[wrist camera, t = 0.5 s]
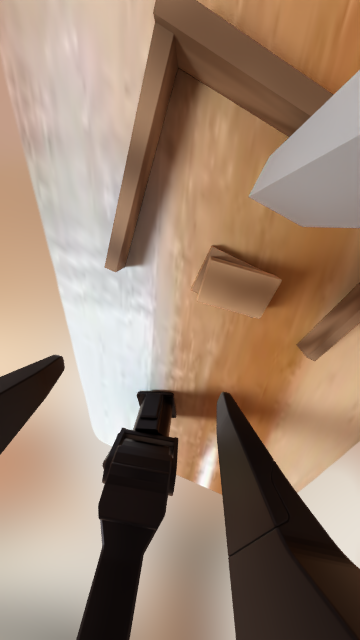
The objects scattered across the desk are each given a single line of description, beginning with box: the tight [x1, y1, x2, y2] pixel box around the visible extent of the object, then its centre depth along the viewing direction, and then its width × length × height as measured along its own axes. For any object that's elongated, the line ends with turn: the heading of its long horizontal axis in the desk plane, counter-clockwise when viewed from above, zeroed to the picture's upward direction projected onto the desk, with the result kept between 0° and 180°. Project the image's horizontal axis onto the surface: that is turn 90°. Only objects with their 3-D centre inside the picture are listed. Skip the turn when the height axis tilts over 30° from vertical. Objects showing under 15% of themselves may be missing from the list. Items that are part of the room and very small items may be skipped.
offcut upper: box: [197, 257, 282, 319], centre depth 18 cm, size 4×7×2 cm, turn 76°
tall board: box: [249, 70, 360, 228], centre depth 10 cm, size 3×6×12 cm, turn 66°
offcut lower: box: [191, 246, 264, 318], centre depth 19 cm, size 5×8×2 cm, turn 67°
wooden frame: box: [105, 0, 360, 361], centre depth 16 cm, size 17×26×3 cm, turn 66°
